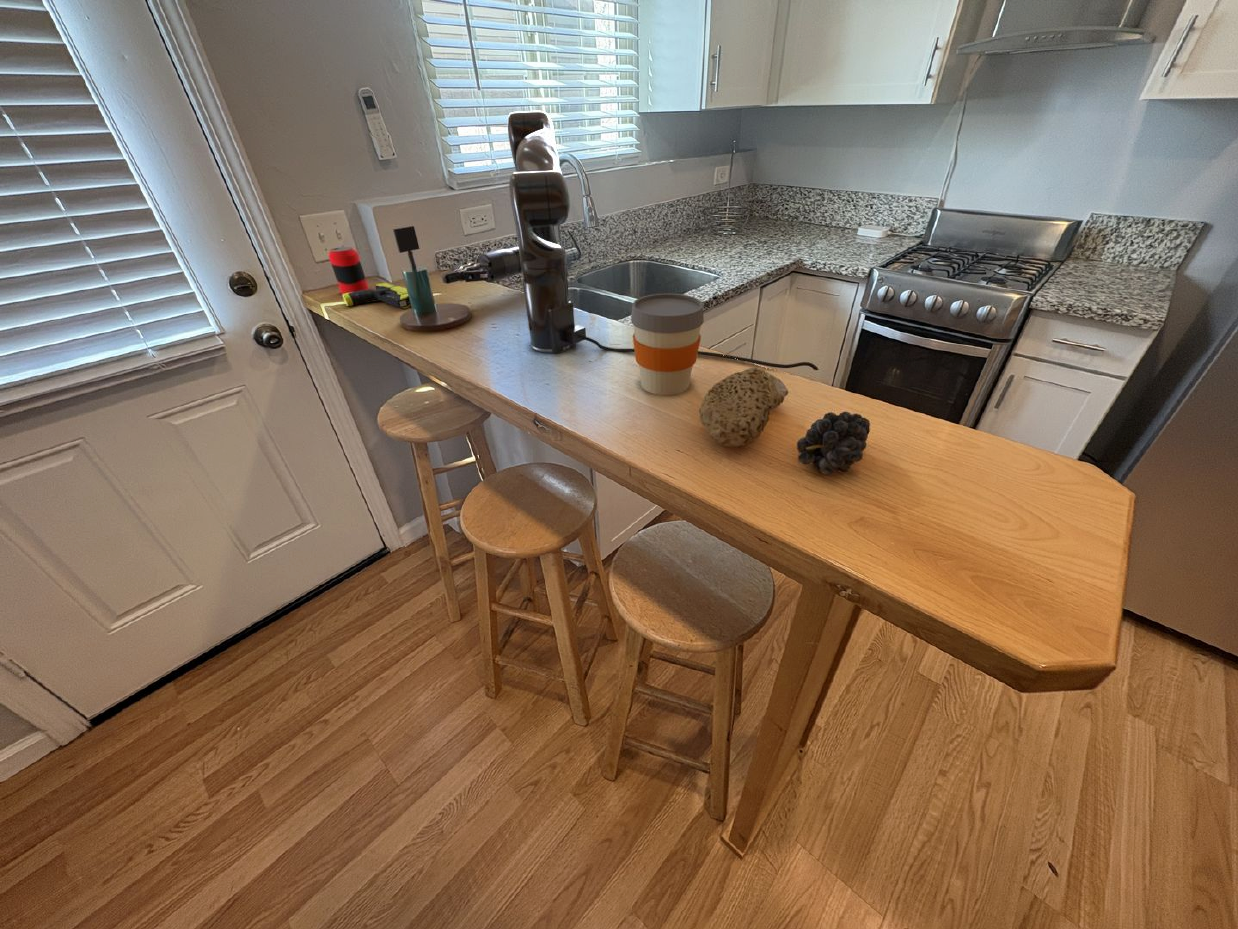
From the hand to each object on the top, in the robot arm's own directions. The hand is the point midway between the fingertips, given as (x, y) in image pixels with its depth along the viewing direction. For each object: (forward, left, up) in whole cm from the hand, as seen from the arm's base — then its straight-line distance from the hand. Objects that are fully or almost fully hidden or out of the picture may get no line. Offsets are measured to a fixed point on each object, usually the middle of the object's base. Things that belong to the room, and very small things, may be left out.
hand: (444, 279), depth 125 cm
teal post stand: (-4, +7, -8) cm, 11 cm away
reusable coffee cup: (-70, 0, -8) cm, 70 cm away
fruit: (-104, +4, -8) cm, 104 cm away
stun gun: (+21, +8, -8) cm, 24 cm away
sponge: (-88, +4, -8) cm, 88 cm away
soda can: (+38, +8, -8) cm, 40 cm away
